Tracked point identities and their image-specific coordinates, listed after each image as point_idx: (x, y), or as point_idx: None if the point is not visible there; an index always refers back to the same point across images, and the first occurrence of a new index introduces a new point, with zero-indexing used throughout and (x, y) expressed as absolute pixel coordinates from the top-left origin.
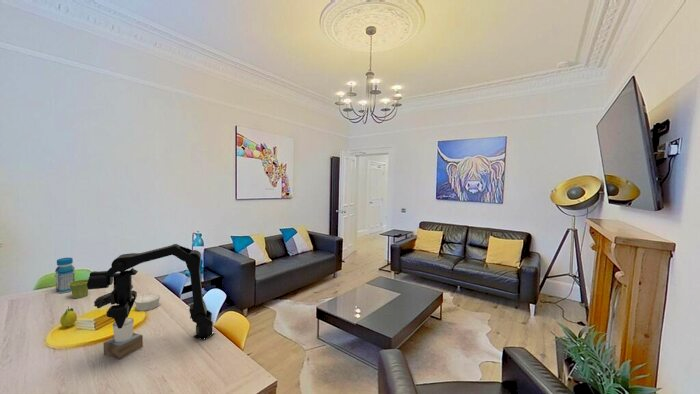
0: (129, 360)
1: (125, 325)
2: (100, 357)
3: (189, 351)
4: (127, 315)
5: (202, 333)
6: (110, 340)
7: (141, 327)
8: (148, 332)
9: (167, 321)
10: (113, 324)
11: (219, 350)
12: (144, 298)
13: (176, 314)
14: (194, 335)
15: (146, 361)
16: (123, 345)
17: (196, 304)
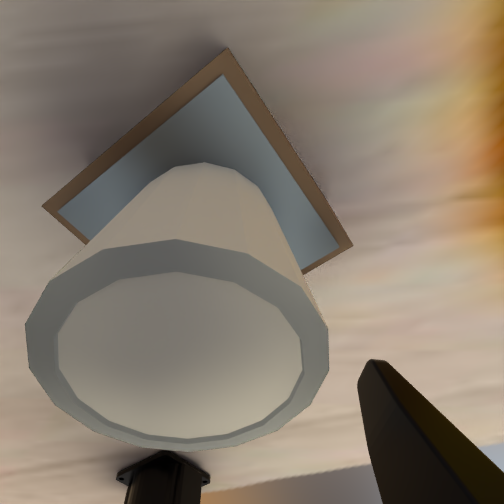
0: (50, 221)
1: (53, 388)
2: (190, 24)
3: (40, 433)
4: (366, 419)
5: (129, 497)
6: (219, 122)
7: (489, 269)
8: (376, 303)
9: (439, 376)
10: (152, 257)
11: (9, 496)
12: None
13: (489, 407)
14: (171, 457)
15: (4, 298)
16: (74, 231)
17: None
